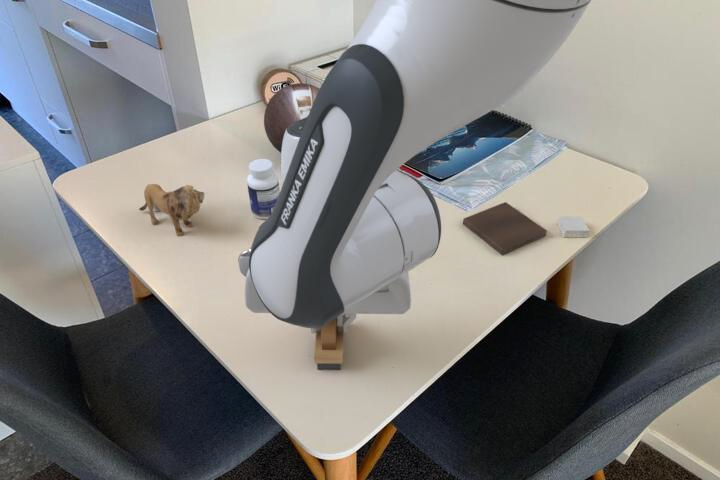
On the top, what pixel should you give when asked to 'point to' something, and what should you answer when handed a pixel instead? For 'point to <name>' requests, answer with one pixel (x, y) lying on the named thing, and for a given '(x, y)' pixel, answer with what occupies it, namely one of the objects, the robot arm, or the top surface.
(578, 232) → the chalk block
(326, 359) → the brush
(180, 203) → the lion figurine
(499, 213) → the board
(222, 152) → the top surface
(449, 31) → the robot arm
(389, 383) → the top surface
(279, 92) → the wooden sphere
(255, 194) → the pill bottle
